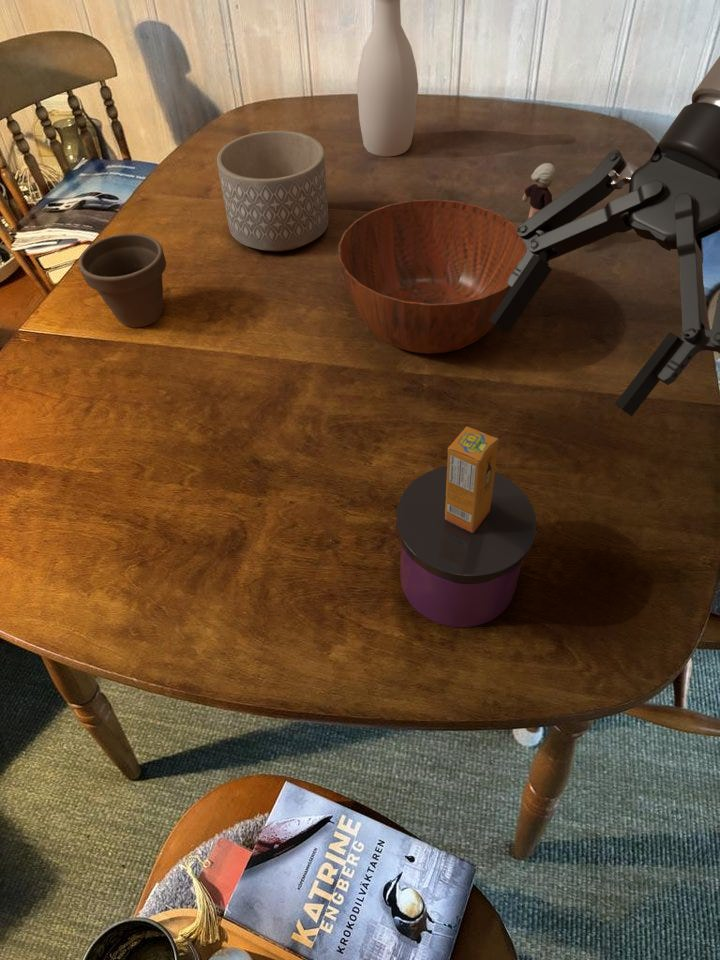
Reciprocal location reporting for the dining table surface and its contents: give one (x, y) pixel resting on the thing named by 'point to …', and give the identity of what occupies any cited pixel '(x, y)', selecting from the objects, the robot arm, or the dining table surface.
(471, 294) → the bowl
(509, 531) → the jar
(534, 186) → the grandmother figurine
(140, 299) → the flower pot
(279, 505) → the dining table surface
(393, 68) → the bottle
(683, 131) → the robot arm
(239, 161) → the planter
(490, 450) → the supplement box
